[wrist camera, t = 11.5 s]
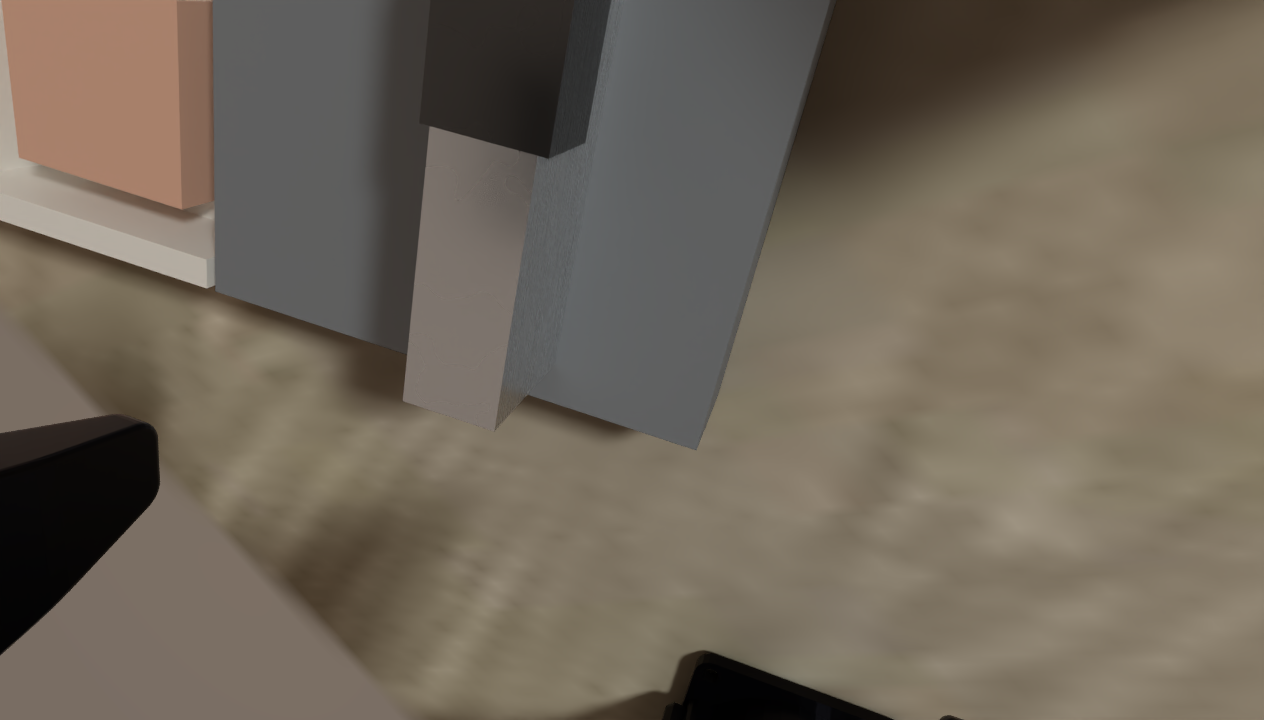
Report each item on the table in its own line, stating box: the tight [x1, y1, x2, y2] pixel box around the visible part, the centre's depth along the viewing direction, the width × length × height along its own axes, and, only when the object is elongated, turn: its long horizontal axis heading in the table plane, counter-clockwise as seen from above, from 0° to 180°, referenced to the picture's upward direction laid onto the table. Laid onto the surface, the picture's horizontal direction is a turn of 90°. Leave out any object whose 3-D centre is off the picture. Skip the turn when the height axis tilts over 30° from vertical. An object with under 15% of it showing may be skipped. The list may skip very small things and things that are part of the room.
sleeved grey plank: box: [403, 0, 623, 431], centre depth 14 cm, size 2×15×4 cm, turn 168°
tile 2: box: [1, 0, 214, 209], centre depth 21 cm, size 5×5×2 cm
